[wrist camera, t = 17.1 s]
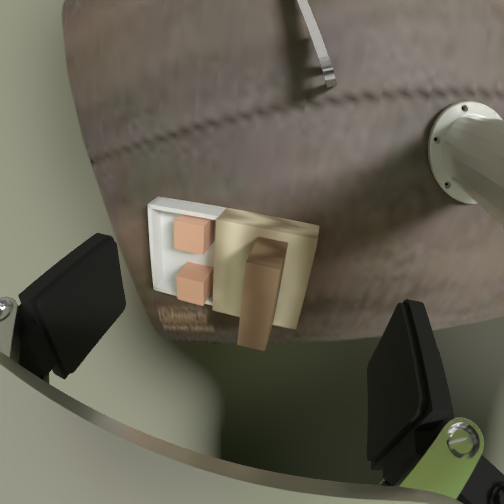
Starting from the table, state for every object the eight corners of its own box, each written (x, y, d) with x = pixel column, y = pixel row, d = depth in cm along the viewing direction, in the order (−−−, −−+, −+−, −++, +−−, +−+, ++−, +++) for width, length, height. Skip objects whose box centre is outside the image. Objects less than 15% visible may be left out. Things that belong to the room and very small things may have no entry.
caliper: (336, 86, 30) (338, 83, 24) (327, 88, 30) (327, 85, 25) (280, -55, 21) (271, -78, 16) (272, -53, 22) (261, -76, 16)
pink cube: (204, 226, 36) (173, 220, 37) (203, 255, 38) (174, 248, 39) (215, 213, 40) (187, 208, 40) (213, 241, 42) (186, 235, 42)
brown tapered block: (288, 242, 35) (280, 269, 30) (273, 320, 41) (264, 351, 36) (258, 236, 36) (245, 262, 31) (248, 314, 42) (237, 344, 37)
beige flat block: (319, 225, 38) (318, 239, 34) (299, 311, 45) (295, 329, 41) (226, 207, 39) (216, 219, 36) (221, 294, 46) (212, 310, 43)
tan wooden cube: (203, 282, 40) (176, 276, 41) (203, 305, 42) (177, 299, 43) (213, 267, 44) (187, 261, 44) (212, 289, 46) (188, 283, 46)
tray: (226, 207, 39) (218, 216, 37) (221, 294, 46) (214, 306, 44) (158, 196, 41) (147, 203, 38) (162, 279, 48) (153, 289, 45)
